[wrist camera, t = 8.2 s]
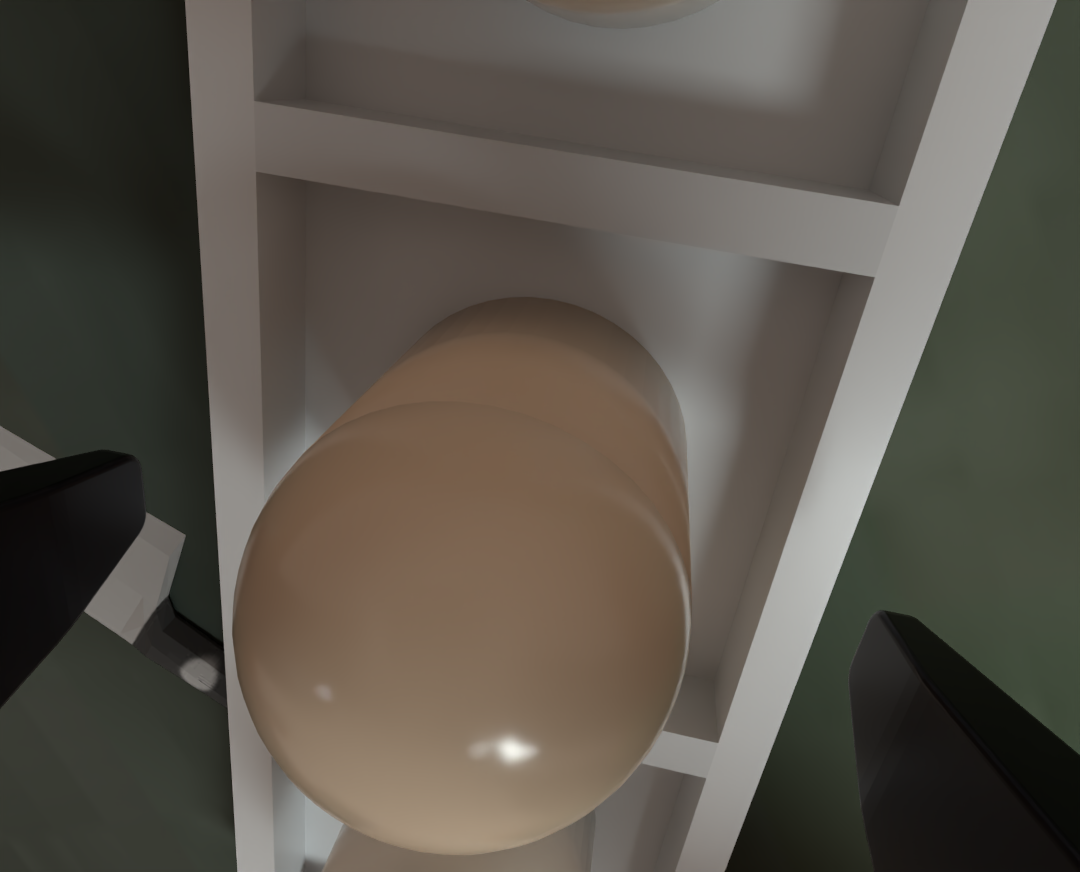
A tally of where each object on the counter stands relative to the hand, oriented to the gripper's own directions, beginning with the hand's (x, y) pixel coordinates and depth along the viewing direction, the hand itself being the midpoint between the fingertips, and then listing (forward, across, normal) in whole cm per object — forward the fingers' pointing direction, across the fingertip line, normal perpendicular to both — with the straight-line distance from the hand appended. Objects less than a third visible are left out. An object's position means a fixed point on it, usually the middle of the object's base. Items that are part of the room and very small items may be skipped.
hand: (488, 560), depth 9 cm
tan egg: (+3, 0, 0) cm, 3 cm away
